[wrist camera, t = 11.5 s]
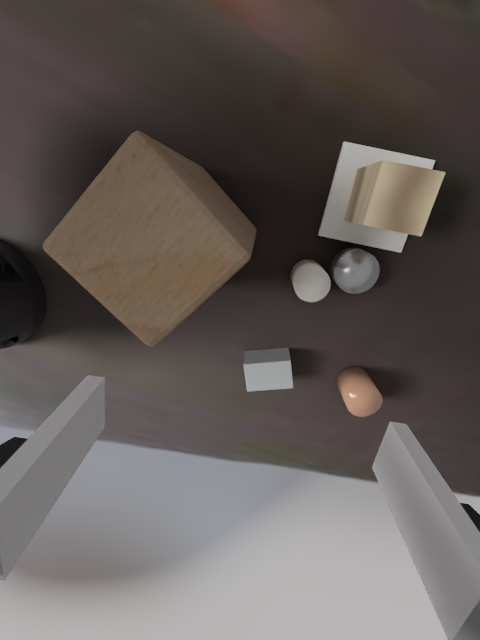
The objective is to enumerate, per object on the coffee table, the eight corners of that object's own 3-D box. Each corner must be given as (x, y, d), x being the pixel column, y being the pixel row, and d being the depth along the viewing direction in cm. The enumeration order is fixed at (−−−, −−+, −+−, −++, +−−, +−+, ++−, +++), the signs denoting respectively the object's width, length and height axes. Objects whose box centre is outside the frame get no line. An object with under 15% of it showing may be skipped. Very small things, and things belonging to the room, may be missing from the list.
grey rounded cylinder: (287, 287, 41) (290, 298, 36) (294, 256, 39) (299, 263, 35) (317, 293, 41) (324, 305, 36) (326, 263, 39) (335, 271, 35)
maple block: (342, 220, 37) (362, 225, 30) (357, 169, 35) (383, 160, 28) (389, 229, 37) (421, 236, 30) (406, 178, 35) (445, 172, 28)
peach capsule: (339, 396, 46) (349, 419, 41) (333, 370, 44) (344, 391, 39) (370, 389, 45) (384, 412, 41) (366, 363, 44) (380, 384, 39)
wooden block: (258, 230, 39) (254, 257, 20) (201, 284, 42) (149, 352, 23) (200, 164, 37) (134, 124, 18) (143, 225, 39) (35, 247, 21)
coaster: (317, 235, 38) (318, 235, 38) (342, 142, 35) (344, 141, 34) (399, 252, 38) (401, 252, 38) (432, 161, 35) (435, 160, 34)
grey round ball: (324, 283, 40) (329, 289, 38) (336, 243, 39) (342, 246, 36) (363, 291, 40) (371, 297, 38) (377, 251, 39) (385, 255, 36)
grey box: (248, 376, 46) (247, 391, 42) (245, 350, 45) (243, 364, 41) (290, 372, 45) (293, 388, 41) (288, 347, 44) (290, 360, 40)
